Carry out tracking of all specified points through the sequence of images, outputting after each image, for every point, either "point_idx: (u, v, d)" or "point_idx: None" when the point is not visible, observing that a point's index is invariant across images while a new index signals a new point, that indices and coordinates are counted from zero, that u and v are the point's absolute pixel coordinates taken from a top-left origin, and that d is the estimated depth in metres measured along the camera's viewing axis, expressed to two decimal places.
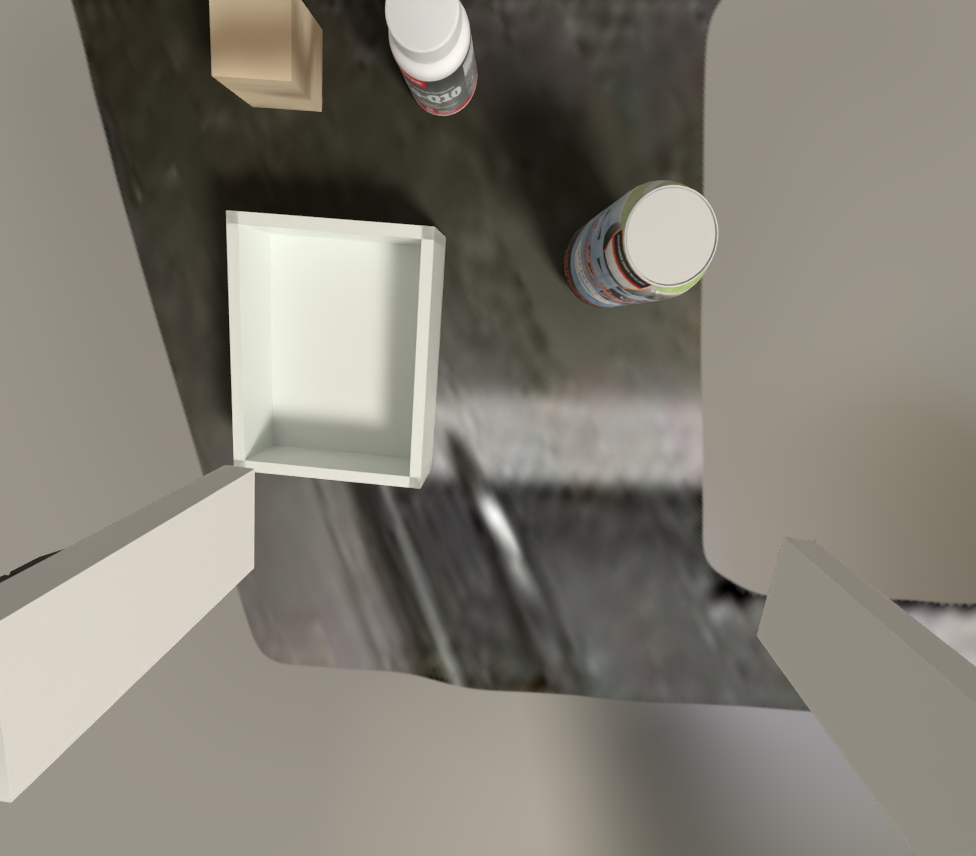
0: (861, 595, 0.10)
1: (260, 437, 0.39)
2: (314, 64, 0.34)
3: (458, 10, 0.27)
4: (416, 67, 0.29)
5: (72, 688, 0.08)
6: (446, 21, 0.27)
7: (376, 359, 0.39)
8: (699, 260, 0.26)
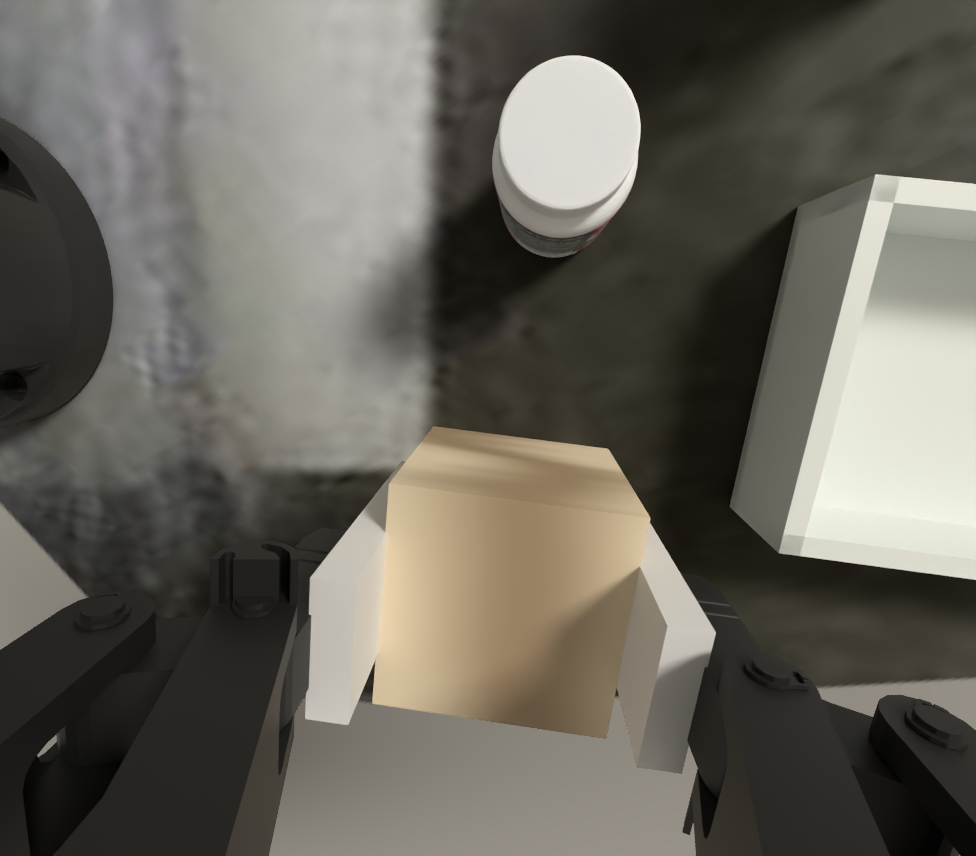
0: None
1: None
2: (527, 453, 0.13)
3: (577, 56, 0.14)
4: (624, 178, 0.16)
5: (368, 639, 0.10)
6: (594, 82, 0.14)
7: None
8: None
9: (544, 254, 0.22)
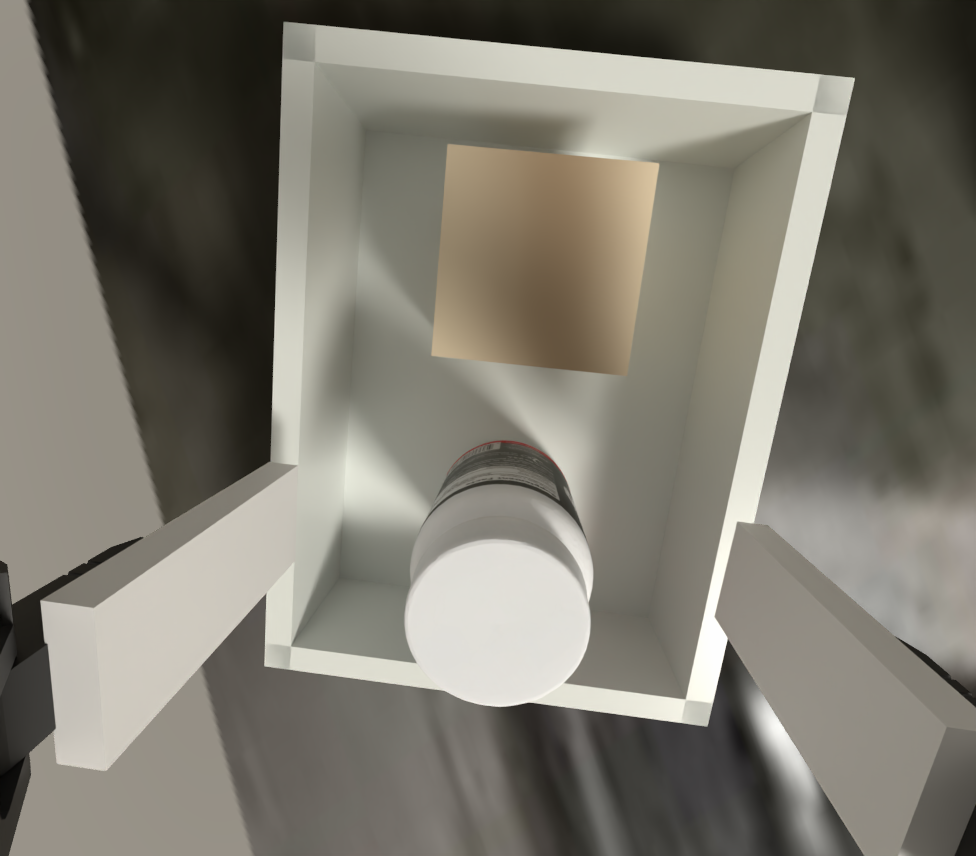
0: (800, 573, 0.10)
1: (321, 577, 0.18)
2: None
3: (504, 539, 0.10)
4: None
5: (153, 667, 0.08)
6: (527, 570, 0.11)
7: (577, 411, 0.18)
8: None
9: None
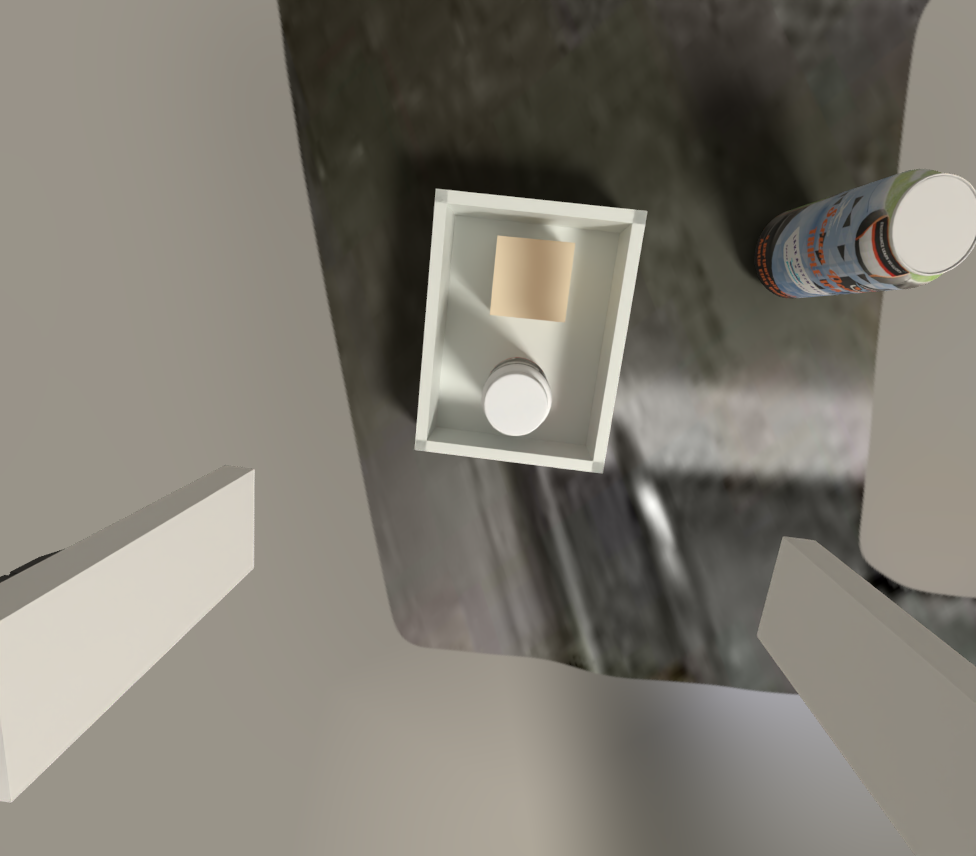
0: (861, 595, 0.10)
1: (433, 419, 0.39)
2: None
3: (518, 374, 0.32)
4: None
5: (72, 688, 0.08)
6: (526, 384, 0.32)
7: (550, 344, 0.39)
8: (960, 249, 0.26)
9: None
